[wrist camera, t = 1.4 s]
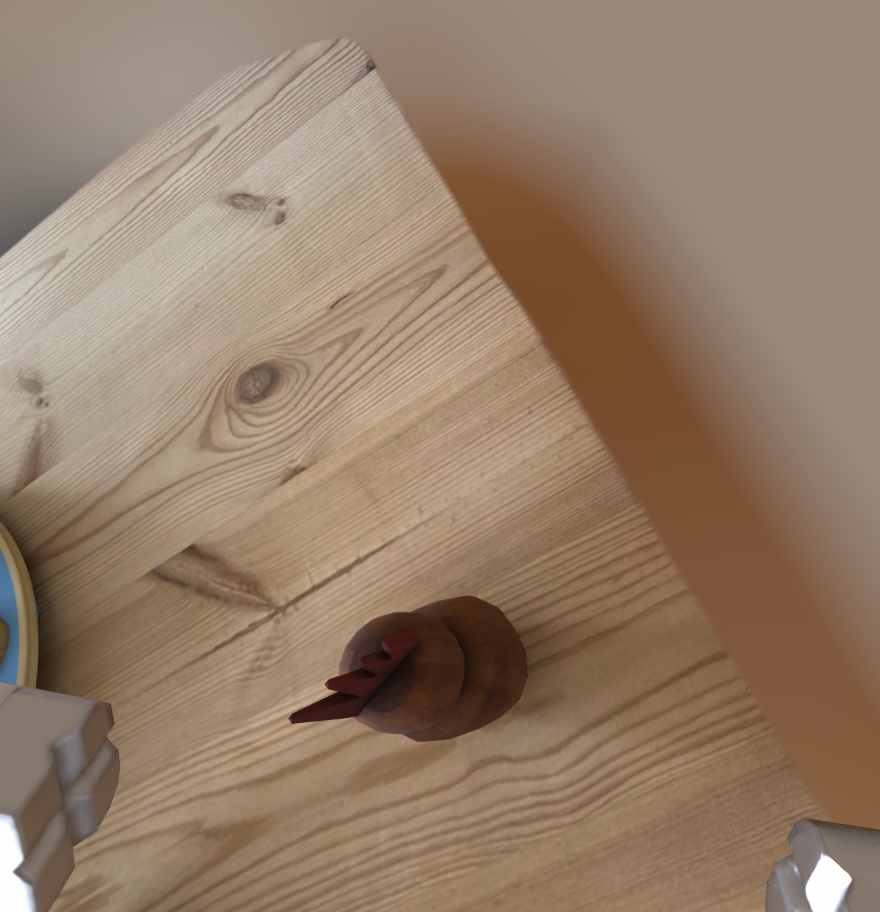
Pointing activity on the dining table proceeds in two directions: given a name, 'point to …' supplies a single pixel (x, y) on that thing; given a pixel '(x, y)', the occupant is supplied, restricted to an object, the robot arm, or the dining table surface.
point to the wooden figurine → (427, 672)
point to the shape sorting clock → (17, 617)
